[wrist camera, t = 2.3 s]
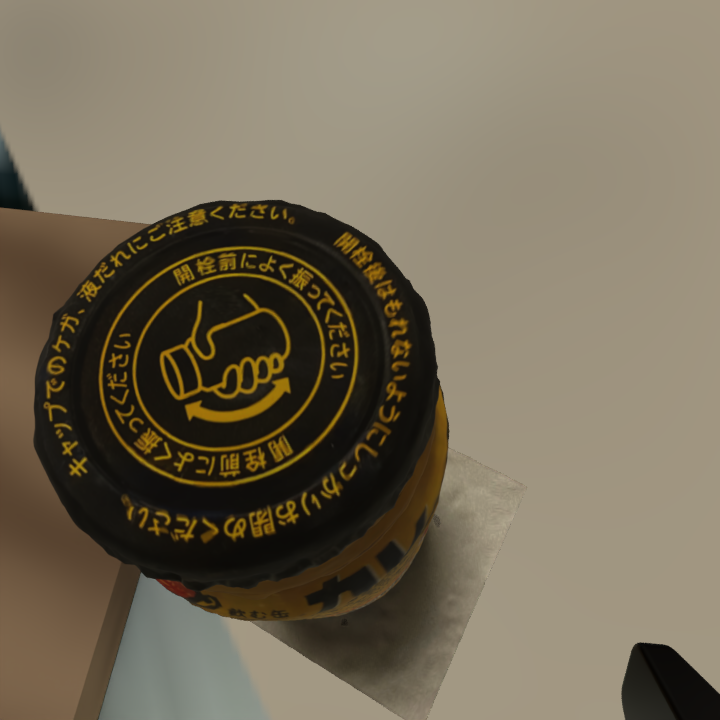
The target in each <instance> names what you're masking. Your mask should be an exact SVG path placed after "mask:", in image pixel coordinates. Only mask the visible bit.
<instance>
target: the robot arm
mask: <svg viewBox="0 0 720 720" xmlns="http://www.w3.org/2000/svg"><path fill="white" fill-rule="evenodd" d="M622 705H623V711H624V715H625V720H720V694H719V693H718V692H717V691H716V690H715V689H714V688H713V687H712V686H711V685H710V684H709V683H708V682H707V681H706V680H705V679H704V678H703V677H702V676H701V675H700V674H699V673H698V672H697V671H696V670H695V669H694V668H693V667H692V666H690V665H689V664H688V663H687V662H686V661H685V660H684V659H683V658H682V657H681V656H680V655H679V654H678V653H677V652H676V651H675V650H674V649H672V648H671V647H669V646H667V645H663V644H652V643H637V644H635V645H634V647H633V649H632V651H631V655H630V658H629V662H628V666H627V670H626V673H625V677H624V681H623V685H622Z"/></svg>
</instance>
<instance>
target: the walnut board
mask: <svg viewBox="0 0 720 720" xmlns="http://www.w3.org/2000/svg"><path fill="white" fill-rule="evenodd" d="M150 225H151V224H141V223H133V222H124V221H116V220H107V219H98V218H89V217H79V216H71V215H62V214H52V213H44V212H35V211H26V210H17V209H8V208H0V720H98V717H99V713H100V710H101V707H102V703H103V700H104V696H105V693H106V689H107V686H108V683H109V679H110V676H111V672H112V669H113V665H114V662H115V658H116V655H117V652H118V648H119V645H120V641H121V638H122V634H123V631H124V628H125V624H126V621H127V617H128V614H129V610H130V607H131V604H132V600H133V597H134V593H135V590H136V586H137V583H138V580H139V576H140V573H141V571H140V570H139V569H138V568H137V566H135V565H129V564H124V563H122V562H121V561H119V560H118V559H116V558H114V557H112V556H110V555H108V554H107V553H106V551H105V550H104V549H103V548H102V547H101V546H100V545H98V544H97V543H96V542H95V541H94V540H93V539H92V538H91V537H90V536H89V535H88V534H86V533H85V532H83V531H82V530H81V529H79V528H78V527H77V526H76V524H75V523H74V522H73V521H72V519H71V517H70V516H69V514H68V512H67V511H66V509H65V507H64V506H63V505H62V503H61V501H60V499H59V497H58V495H57V493H56V492H55V490H54V488H53V486H52V484H51V482H50V481H49V478H48V476H47V474H46V472H45V470H44V468H43V466H42V464H41V462H40V460H39V457H38V455H37V453H36V451H35V448H34V444H33V437H34V431H35V416H34V397H35V374H36V368H37V364H38V361H39V357H40V354H41V352H42V350H43V347H44V345H45V343H46V342H47V340H48V338H49V333H50V328H51V325H52V319H53V314H54V313H55V312H56V311H57V310H58V309H60V308H61V307H62V306H64V304H65V302H66V301H67V300H68V299H69V298H70V296H71V295H72V294H73V292H74V291H75V290H76V288H77V287H78V285H79V284H80V283H81V282H83V281H84V279H85V278H86V277H87V276H88V275H89V274H90V272H91V271H92V270H93V269H94V268H95V266H96V265H97V264H98V263H99V262H100V260H101V259H103V258H104V257H105V256H106V255H107V254H109V253H110V252H111V251H112V250H113V249H114V248H115V247H116V246H117V245H119V244H120V243H122V242H123V241H125V240H126V239H128V238H130V237H131V236H133V235H134V234H136V233H137V232H139V231H141V230H142V229H144V228H146V227H148V226H150Z"/></svg>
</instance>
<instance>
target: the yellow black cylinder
mask: <svg viewBox="0 0 720 720" xmlns="http://www.w3.org/2000/svg"><path fill="white" fill-rule="evenodd" d="M430 324H431V322H430V317H429V313H428V309H427V306H426V304H425V302H424V300H423V299H422V297H421V296H420V295H419V294H418V293H417V292H416V291H415V290H414V289H413V287H412V285H411V283H410V281H409V280H408V279H406V278H405V277H404V275H403V274H402V272H401V271H400V270H399V269H398V267H396V265H395V264H394V263H393V262H392V261H391V259H390V258H389V257H388V256H387V255H386V253H385V252H384V251H383V249H382V248H381V246H380V245H379V244H378V243H377V242H375V241H374V240H372V239H371V238H369V237H368V236H366V235H365V234H363V233H362V232H360V231H359V230H357V229H355V228H354V227H352V226H350V225H348V224H345V223H343V222H341V221H339V220H336V219H334V218H333V217H331V216H329V215H327V214H326V213H322V212H316V211H313V210H311V209H308V208H306V207H303V206H301V205H296V204H291V203H288V202H285V201H282V200H265V201H247V202H236V201H215V202H210V203H204V204H199V205H197V206H195V207H192V208H190V209H188V210H185V211H182V212H179V213H177V214H174V215H171V216H169V217H166V218H164V219H162V220H160V221H158V222H156V223H154V224H152V225H150V226H148V227H146V228H144V229H142V230H141V231H139V232H137V233H136V234H134V235H133V236H131V237H130V238H128V239H126V240H125V241H123V242H122V243H120V244H119V245H117V246H116V247H115V248H114V249H113V250H112V251H111V252H110V253H109V254H107V255H106V256H105V257H104V258H103V259H101V260H100V262H99V263H98V264H97V265H96V266H95V268H94V269H93V270H92V271H91V272H90V274H89V275H88V276H87V277H86V278H85V279H84V281H83V282H81V283H80V284H79V285H78V287H77V288H76V290H75V291H74V292H73V294H72V295H71V296H70V298H69V299H68V300H67V301H66V302H65V304H64V306H62V307H61V308H60V309H58V310H57V311H56V312H55V313H54V314H53V319H52V325H51V328H50V333H49V338H48V340H47V342H46V343H45V345H44V347H43V350H42V352H41V354H40V357H39V361H38V364H37V368H36V374H35V397H34V416H35V431H34V437H33V444H34V448H35V451H36V453H37V455H38V457H39V460H40V462H41V464H42V466H43V468H44V470H45V472H46V474H47V476H48V478H49V481H50V482H51V484H52V486H53V488H54V490H55V492H56V493H57V495H58V497H59V499H60V501H61V503H62V505H63V506H64V507H65V509H66V511H67V512H68V514H69V516H70V517H71V519H72V521H73V522H74V523H75V524H76V526H77V527H78V528H79V529H81V530H82V531H83V532H85V533H86V534H88V535H89V536H90V537H91V538H92V539H93V540H94V541H95V542H96V543H97V544H98V545H100V546H101V547H102V548H103V549H104V550H105V551H106V553H107V554H108V555H110V556H112V557H114V558H116V559H118V560H119V561H121V562H122V563H124V564H129V565H135V566H137V568H138V569H139V570H140V571H141V572H142V573H143V574H144V575H145V576H146V577H147V578H153V579H156V580H157V581H158V582H159V583H160V584H162V585H163V586H164V587H165V588H166V589H168V590H169V591H171V592H172V593H174V594H176V595H178V596H181V597H183V598H184V599H186V600H187V601H189V602H190V603H191V604H192V605H194V606H197V607H200V608H202V609H203V610H205V611H207V612H211V613H215V614H218V615H220V616H223V617H230V618H234V619H239V620H244V621H250V622H252V623H254V624H255V625H257V626H258V627H260V628H261V629H263V630H264V631H266V632H268V633H270V634H271V635H273V636H274V637H276V638H277V639H279V640H280V641H282V642H283V643H285V644H287V645H288V646H289V647H291V648H293V649H295V650H296V651H297V652H299V653H301V654H302V655H303V656H305V657H306V658H308V659H309V660H311V661H313V662H314V663H317V664H318V665H320V666H321V667H323V668H324V669H326V670H328V671H329V672H331V673H332V674H334V675H335V676H337V677H338V678H340V679H341V680H343V681H345V682H347V683H348V684H350V685H352V686H353V687H354V688H356V689H357V690H359V691H361V692H362V693H364V694H366V695H367V696H369V697H370V698H372V699H373V700H375V701H376V702H378V703H379V704H381V705H383V706H384V707H386V708H387V709H388V710H390V711H392V712H393V713H395V714H397V715H398V716H400V717H402V718H403V719H405V720H426V719H427V717H428V715H429V713H430V710H431V708H432V706H433V703H434V700H435V698H436V696H437V693H438V691H439V688H440V686H441V684H442V682H443V679H444V677H445V675H446V672H447V670H448V667H449V665H450V663H451V661H452V658H453V656H454V654H455V652H456V649H457V646H458V644H459V642H460V640H461V638H462V636H463V633H464V630H465V628H466V626H467V623H468V621H469V618H470V617H471V614H472V612H473V610H474V607H475V605H476V603H477V601H478V598H479V596H480V594H481V591H482V589H483V587H484V584H485V581H486V579H487V577H488V575H489V573H490V571H491V569H492V566H493V564H494V562H495V559H496V557H497V554H498V553H499V551H500V548H501V546H502V544H503V541H504V539H505V536H506V534H507V531H508V530H509V527H510V525H511V522H512V520H513V519H514V516H515V514H516V512H517V509H518V507H519V505H520V503H521V500H522V498H523V495H524V493H525V491H526V489H527V487H526V486H524V485H523V484H520V483H518V482H516V481H515V480H512V479H511V478H509V477H507V476H505V475H503V474H501V473H499V472H497V471H495V470H493V469H491V468H489V467H486V466H484V465H482V464H480V463H478V462H477V461H475V460H473V459H471V458H470V457H468V456H466V455H463V454H461V453H459V452H456V451H454V450H452V449H450V448H449V447H448V439H449V423H448V418H447V414H446V408H445V404H444V397H443V392H442V389H441V386H440V381H439V379H438V378H437V369H438V366H437V362H436V356H435V345H434V341H433V338H432V333H431V326H430Z"/></svg>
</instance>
